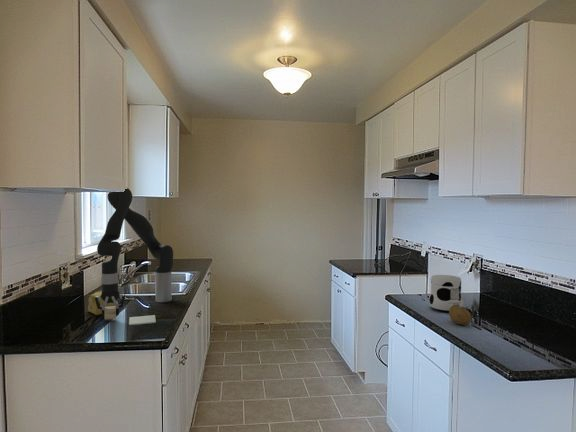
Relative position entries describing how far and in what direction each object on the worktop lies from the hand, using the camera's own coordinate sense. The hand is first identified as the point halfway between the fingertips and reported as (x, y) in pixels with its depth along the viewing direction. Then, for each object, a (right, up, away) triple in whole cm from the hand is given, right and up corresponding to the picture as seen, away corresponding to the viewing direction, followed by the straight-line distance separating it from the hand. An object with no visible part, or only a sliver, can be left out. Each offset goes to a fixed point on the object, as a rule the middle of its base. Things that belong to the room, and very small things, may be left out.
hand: (110, 316), depth 193 cm
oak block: (0, -1, 0) cm, 1 cm away
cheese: (-12, -2, +17) cm, 21 cm away
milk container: (+174, -3, +23) cm, 175 cm away
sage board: (+15, -2, +1) cm, 16 cm away
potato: (+171, -3, -3) cm, 171 cm away
